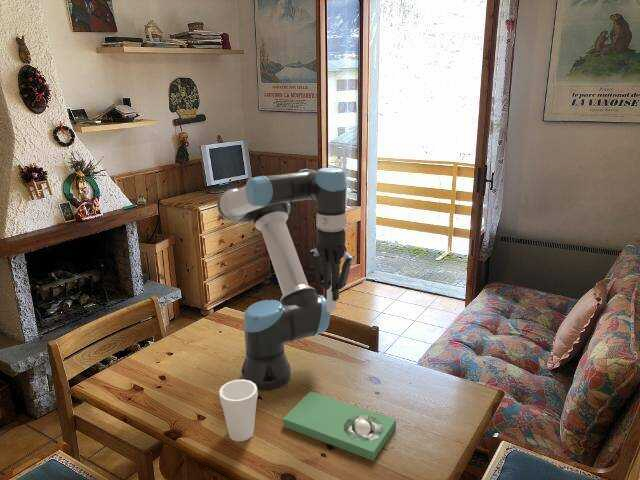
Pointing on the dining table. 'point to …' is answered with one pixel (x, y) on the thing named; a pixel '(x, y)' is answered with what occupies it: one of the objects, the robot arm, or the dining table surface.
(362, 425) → the ball
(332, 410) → the green
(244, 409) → the foam cup
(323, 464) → the dining table surface
